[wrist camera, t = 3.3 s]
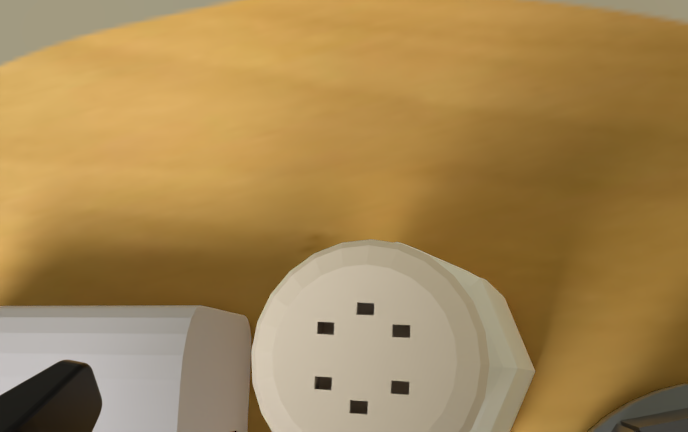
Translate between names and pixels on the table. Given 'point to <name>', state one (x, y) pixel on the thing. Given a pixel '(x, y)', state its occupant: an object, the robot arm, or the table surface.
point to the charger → (140, 361)
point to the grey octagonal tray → (650, 413)
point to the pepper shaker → (387, 346)
